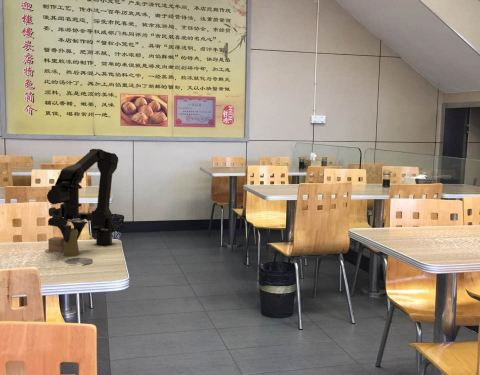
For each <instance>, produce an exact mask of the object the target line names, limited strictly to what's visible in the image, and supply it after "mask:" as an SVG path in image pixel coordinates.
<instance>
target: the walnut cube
mask: <svg viewBox="0 0 480 375" xmlns="http://www.w3.org/2000/svg"><path fill="white" fill-rule="evenodd" d="M47 244H48V249H49V252H62V251H64V248H65V240H64V238H63V236H52V237H50V238H48V242H47Z"/></svg>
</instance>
